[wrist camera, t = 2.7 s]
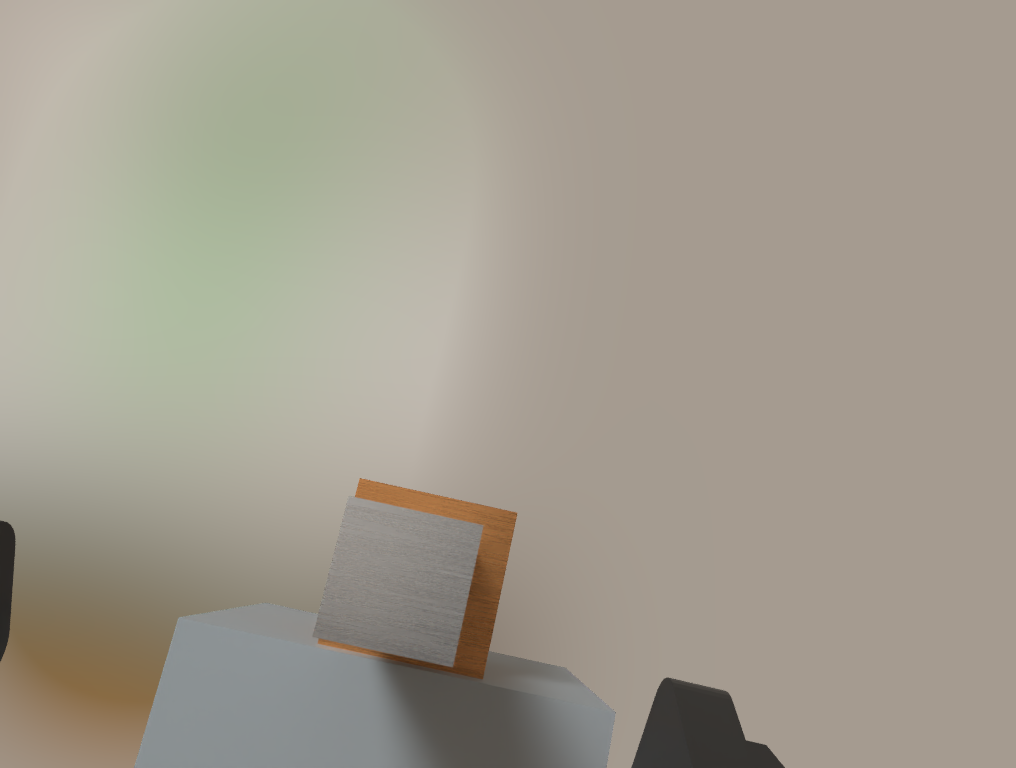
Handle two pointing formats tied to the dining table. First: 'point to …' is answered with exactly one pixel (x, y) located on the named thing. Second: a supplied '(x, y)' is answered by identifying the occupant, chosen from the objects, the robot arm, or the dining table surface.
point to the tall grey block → (356, 705)
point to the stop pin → (416, 578)
